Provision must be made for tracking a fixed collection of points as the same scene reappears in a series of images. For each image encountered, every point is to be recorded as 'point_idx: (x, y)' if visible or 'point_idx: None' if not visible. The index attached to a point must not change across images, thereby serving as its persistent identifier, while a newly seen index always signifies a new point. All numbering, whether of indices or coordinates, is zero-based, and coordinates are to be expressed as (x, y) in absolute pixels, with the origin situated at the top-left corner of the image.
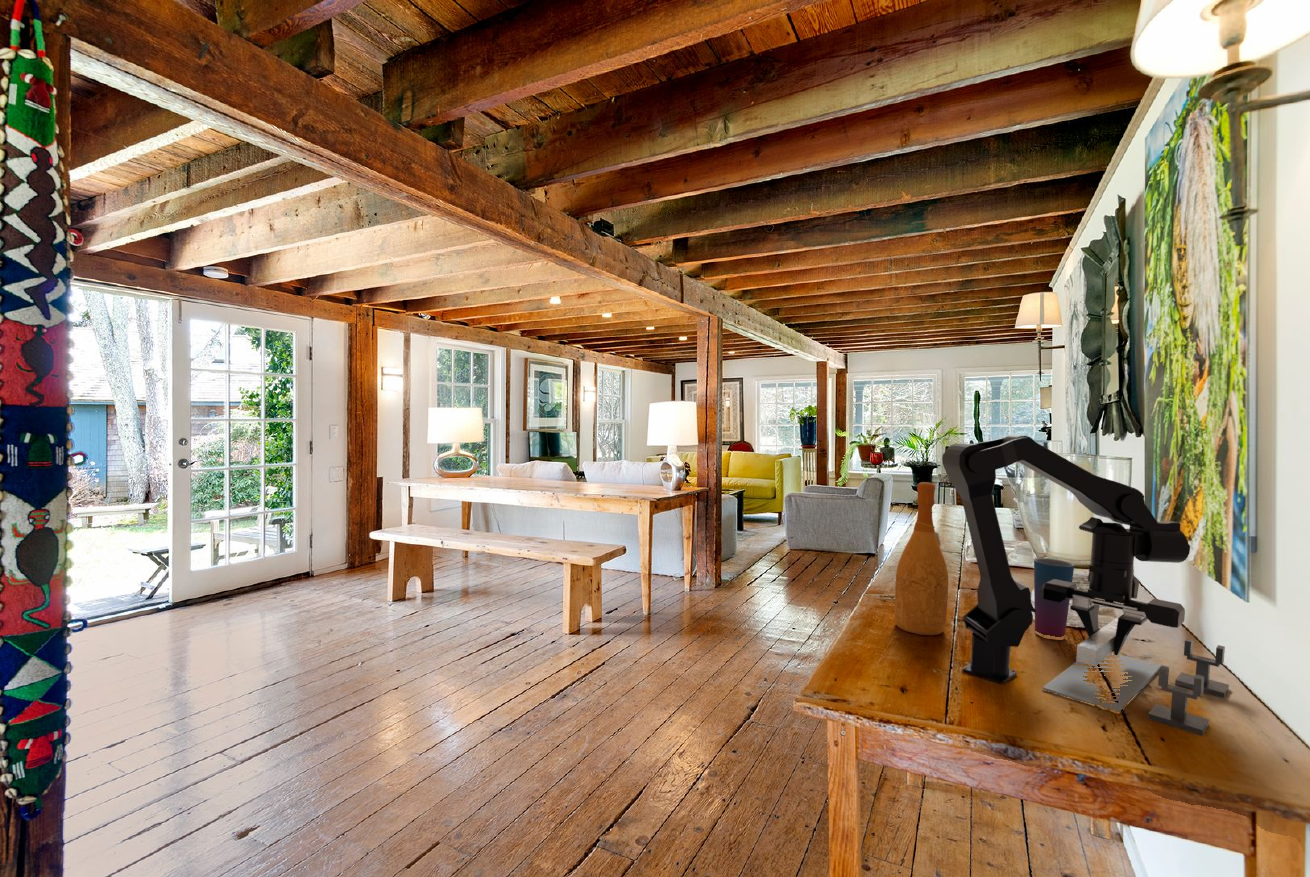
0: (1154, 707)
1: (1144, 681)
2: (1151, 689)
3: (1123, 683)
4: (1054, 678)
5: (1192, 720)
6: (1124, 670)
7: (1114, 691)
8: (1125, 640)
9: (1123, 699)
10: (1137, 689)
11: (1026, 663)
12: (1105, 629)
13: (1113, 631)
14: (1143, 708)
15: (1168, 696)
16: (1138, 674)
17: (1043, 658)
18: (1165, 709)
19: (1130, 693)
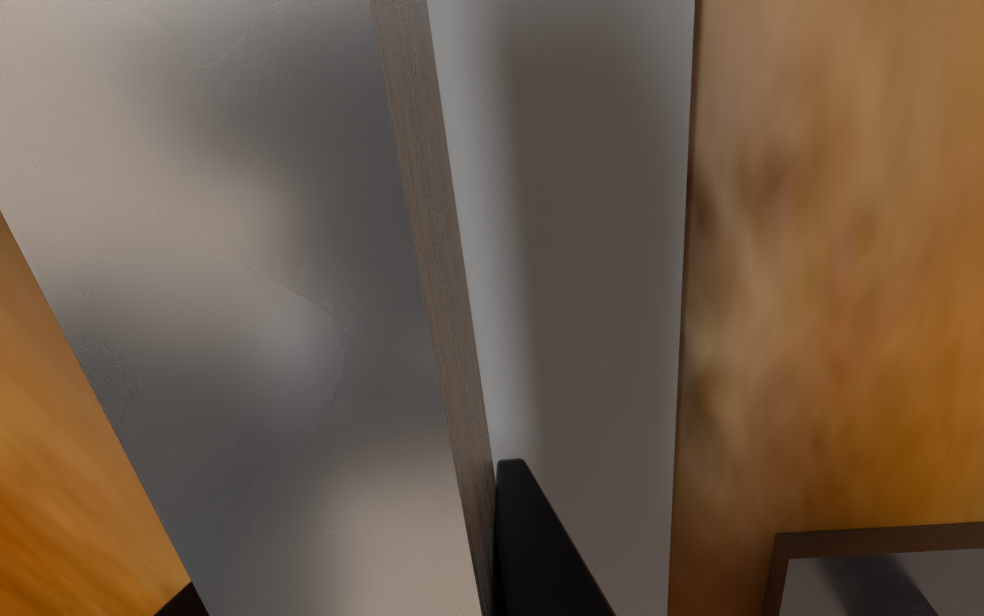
0: (786, 605)
1: (673, 209)
2: (720, 254)
3: (578, 388)
4: None
5: (948, 610)
6: (485, 66)
7: (581, 539)
8: (593, 580)
9: (644, 594)
10: (667, 412)
11: (81, 486)
12: (263, 600)
13: (389, 598)
14: (725, 565)
15: (827, 288)
16: (599, 64)
17: (25, 312)
18: (834, 588)
19: (651, 503)
